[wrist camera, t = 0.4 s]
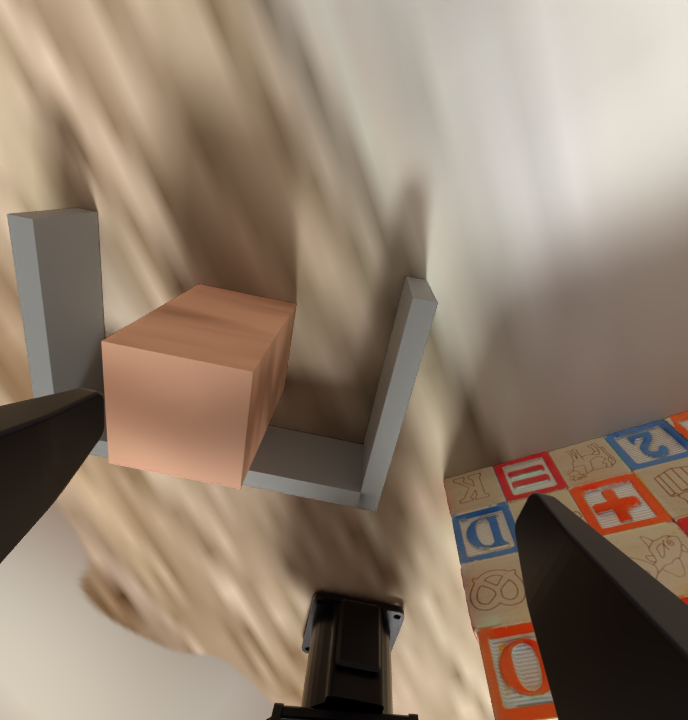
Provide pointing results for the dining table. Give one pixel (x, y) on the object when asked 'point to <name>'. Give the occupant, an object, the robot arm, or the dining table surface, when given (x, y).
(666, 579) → the stack of blocks
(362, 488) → the open-fronted box
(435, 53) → the dining table surface
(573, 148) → the dining table surface
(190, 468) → the terracotta block
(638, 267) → the dining table surface
